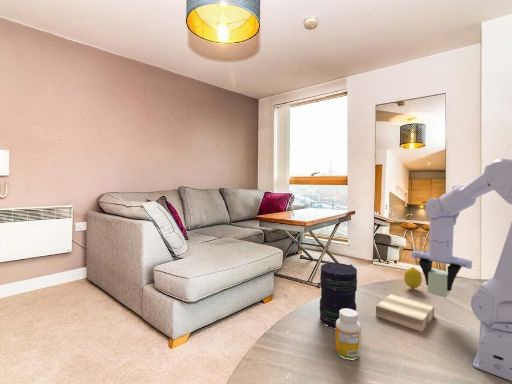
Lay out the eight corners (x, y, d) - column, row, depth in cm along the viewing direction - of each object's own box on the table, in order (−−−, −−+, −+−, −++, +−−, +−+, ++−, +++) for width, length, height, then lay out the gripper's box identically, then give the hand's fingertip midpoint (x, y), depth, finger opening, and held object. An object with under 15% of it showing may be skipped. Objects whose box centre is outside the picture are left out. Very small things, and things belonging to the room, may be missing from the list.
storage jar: (360, 318, 81) (361, 266, 80) (350, 334, 72) (352, 277, 72) (326, 309, 86) (327, 260, 85) (313, 323, 78) (314, 269, 77)
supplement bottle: (340, 344, 68) (341, 304, 68) (363, 352, 65) (364, 311, 64) (331, 354, 64) (332, 312, 64) (354, 364, 61) (356, 320, 60)
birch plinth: (422, 331, 74) (422, 320, 74) (375, 315, 82) (376, 305, 82) (433, 316, 82) (434, 305, 82) (390, 302, 91) (391, 293, 91)
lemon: (403, 290, 101) (404, 268, 101) (403, 285, 106) (404, 264, 106) (421, 293, 99) (422, 270, 98) (421, 288, 103) (421, 266, 103)
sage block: (446, 297, 78) (447, 276, 78) (427, 292, 82) (428, 272, 81) (449, 292, 82) (450, 272, 81) (431, 288, 85) (432, 268, 84)
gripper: (474, 242, 79) (472, 290, 79) (416, 234, 89) (415, 277, 89) (470, 246, 74) (468, 298, 74) (409, 238, 84) (408, 283, 84)
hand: (438, 287), depth 82 cm, fingers closed on sage block, 4 cm apart
